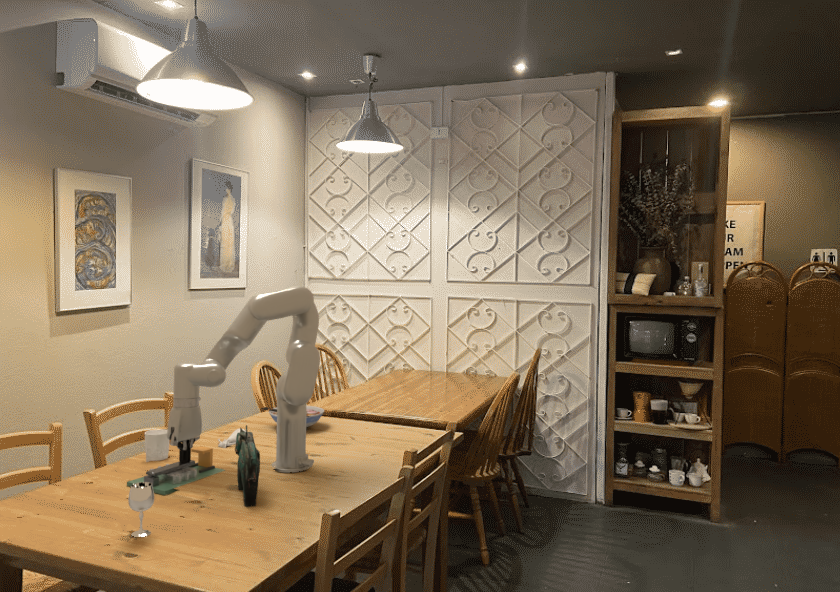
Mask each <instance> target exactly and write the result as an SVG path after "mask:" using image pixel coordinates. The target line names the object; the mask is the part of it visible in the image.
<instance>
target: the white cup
mask: <svg viewBox="0 0 840 592" xmlns="http://www.w3.org/2000/svg"><path fill="white" fill-rule="evenodd" d="M167 431H168V429H164V428H160V429H157V428H156V429H151V430H147V431H144V448H145V450H144V451H145V463H148V462H151V461H153V462H156V461H157V462H159V461H164V460H166V459H168V457H169V452H170V440H169V439H168V438H167Z"/></svg>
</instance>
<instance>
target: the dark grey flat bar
mask: <svg viewBox="0 0 840 592" xmlns="http://www.w3.org/2000/svg"><path fill="white" fill-rule="evenodd" d="M195 463H196V460H194V459H191V461H190V462H187V463H185V462H180V461H176V462H172V463H168V464H169V465H166V464H165V465H164V466H162V467H159V466H158V467H159V468H158V467H157V468H152V469H153V470H150V469H149V470H147V471H146V472H145V476H146V475H151V476H155V477H156V476H159V475H162V474H165V473H168V472H171V471H174V470H178V469H181V468H184V467H187V466H190V465H193V464H195Z"/></svg>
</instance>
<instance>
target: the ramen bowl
mask: <svg viewBox="0 0 840 592" xmlns="http://www.w3.org/2000/svg"><path fill="white" fill-rule="evenodd" d="M260 410H263V411H268V413H269V415H270V417H271V419H272V420H273V421H274V422H275V423H276V424H277V406H276V407H273V408H271V407H267V406H264V407H261V408H260ZM324 413H325V409H324V408H322V407H318V406H314V405H306V428H308V427H311V426H313V425H315V424H317V422H318V421H319V420H320V419H321V417H322V416H323V415H324Z"/></svg>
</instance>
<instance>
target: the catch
mask: <svg viewBox="0 0 840 592" xmlns="http://www.w3.org/2000/svg"><path fill="white" fill-rule="evenodd" d="M213 451H214V448H212V447H208V446H207V447H206V446H197V447H194V448H193V447H192V448H191V453H196V454H198V457H197V459H198V460H197V462H198V466H203V467H210V466H213V462H214V461H213V457H214V456H213V455H214V453H213Z"/></svg>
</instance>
